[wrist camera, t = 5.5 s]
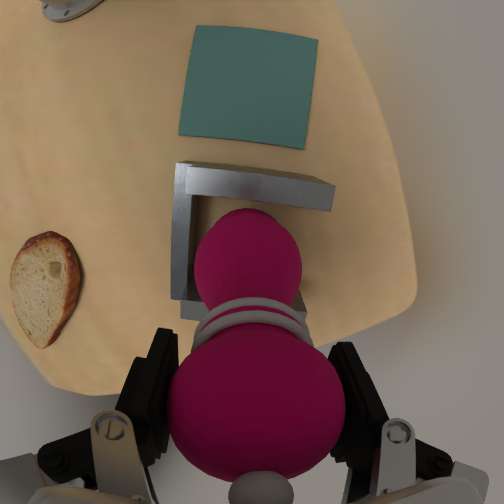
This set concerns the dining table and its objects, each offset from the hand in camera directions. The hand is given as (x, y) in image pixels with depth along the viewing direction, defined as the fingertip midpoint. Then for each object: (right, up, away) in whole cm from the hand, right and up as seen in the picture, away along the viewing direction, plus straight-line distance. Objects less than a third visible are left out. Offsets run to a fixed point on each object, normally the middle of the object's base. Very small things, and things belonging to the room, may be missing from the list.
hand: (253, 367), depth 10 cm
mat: (0, +21, +13) cm, 24 cm away
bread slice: (-29, -2, +21) cm, 36 cm away
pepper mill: (-1, +5, +13) cm, 14 cm away
